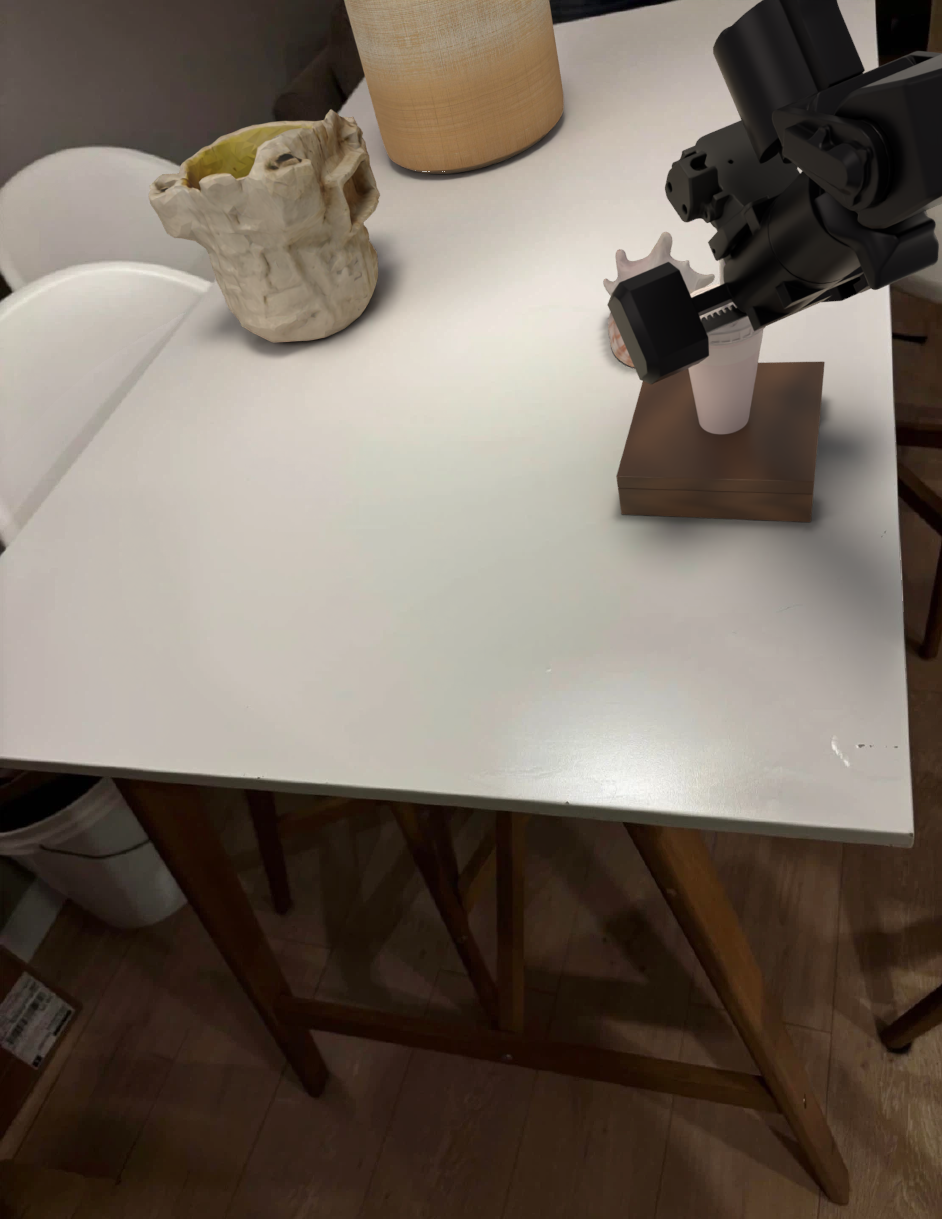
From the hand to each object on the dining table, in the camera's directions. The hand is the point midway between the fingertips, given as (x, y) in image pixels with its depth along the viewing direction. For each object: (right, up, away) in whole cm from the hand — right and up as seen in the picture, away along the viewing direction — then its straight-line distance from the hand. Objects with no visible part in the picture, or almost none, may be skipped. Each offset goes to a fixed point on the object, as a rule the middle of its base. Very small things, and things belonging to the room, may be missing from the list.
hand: (713, 321), depth 63 cm
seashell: (+1, +6, +22) cm, 22 cm away
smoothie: (+2, -6, +5) cm, 8 cm away
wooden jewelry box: (+3, -8, +8) cm, 12 cm away
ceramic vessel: (-34, +15, +40) cm, 55 cm away
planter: (-17, +45, +61) cm, 78 cm away
